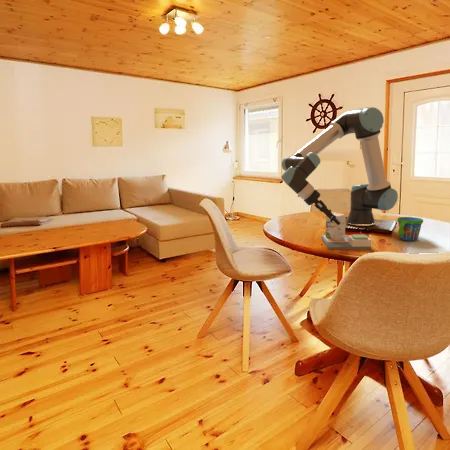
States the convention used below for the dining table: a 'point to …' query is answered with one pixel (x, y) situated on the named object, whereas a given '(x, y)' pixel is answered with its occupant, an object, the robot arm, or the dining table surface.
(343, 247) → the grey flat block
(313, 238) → the dining table surface
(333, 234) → the ink box
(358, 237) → the button
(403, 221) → the snack cup
